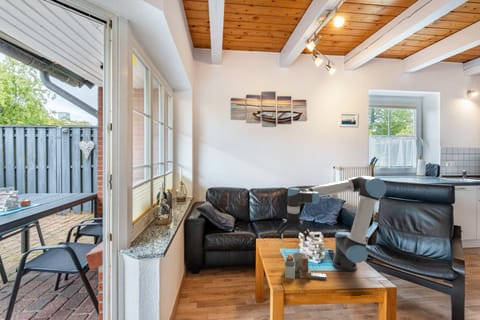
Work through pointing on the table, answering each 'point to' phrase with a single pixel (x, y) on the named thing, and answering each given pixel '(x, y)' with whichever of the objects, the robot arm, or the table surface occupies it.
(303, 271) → the carriage
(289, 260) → the plunger
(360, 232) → the robot arm
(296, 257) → the mug
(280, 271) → the table surface
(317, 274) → the rail
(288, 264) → the cabinet
